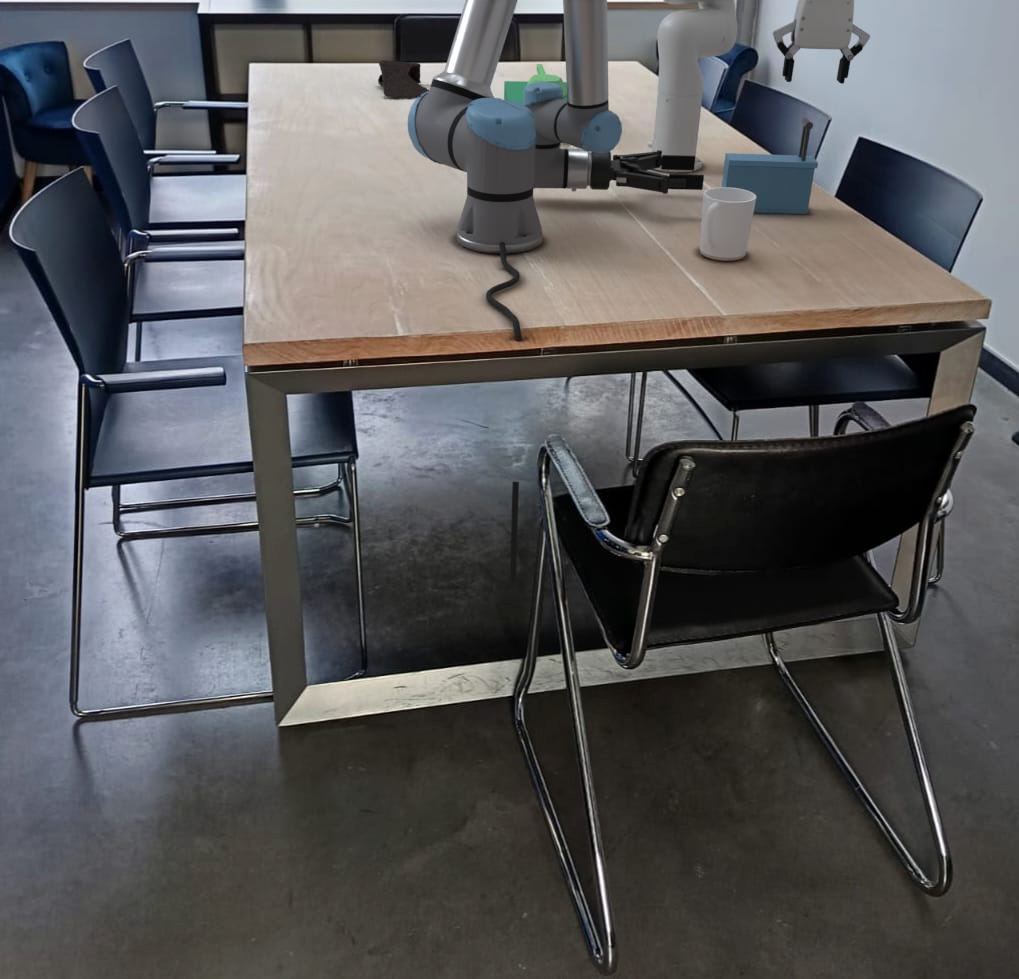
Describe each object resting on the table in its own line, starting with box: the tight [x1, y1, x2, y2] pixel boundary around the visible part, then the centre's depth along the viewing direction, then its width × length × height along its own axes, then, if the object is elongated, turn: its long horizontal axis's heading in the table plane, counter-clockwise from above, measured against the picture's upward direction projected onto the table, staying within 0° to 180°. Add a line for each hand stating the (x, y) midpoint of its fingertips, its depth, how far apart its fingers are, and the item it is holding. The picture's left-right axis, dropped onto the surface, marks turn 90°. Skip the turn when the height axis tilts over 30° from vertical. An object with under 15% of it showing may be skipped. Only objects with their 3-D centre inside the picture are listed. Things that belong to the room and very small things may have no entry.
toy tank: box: [503, 63, 567, 105], centre depth 266 cm, size 18×12×35 cm
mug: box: [699, 186, 756, 262], centre depth 189 cm, size 11×9×10 cm
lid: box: [724, 117, 819, 169], centre depth 208 cm, size 17×5×8 cm, turn 88°
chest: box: [721, 158, 816, 215], centre depth 213 cm, size 16×5×9 cm, turn 88°
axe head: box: [377, 59, 430, 99], centre depth 299 cm, size 18×8×15 cm
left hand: (698, 172), depth 213 cm, fingers open, 13 cm apart
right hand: (813, 81), depth 202 cm, fingers open, 9 cm apart
